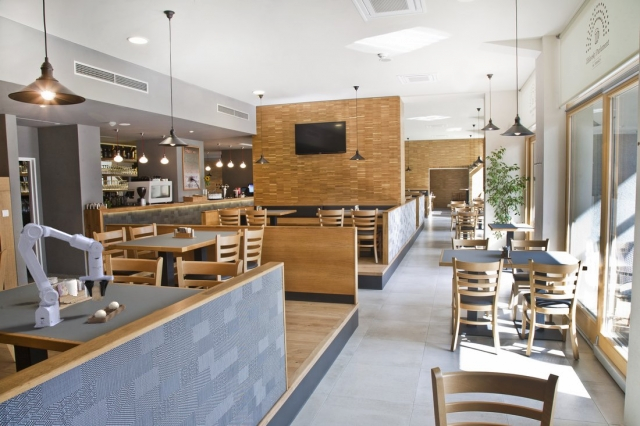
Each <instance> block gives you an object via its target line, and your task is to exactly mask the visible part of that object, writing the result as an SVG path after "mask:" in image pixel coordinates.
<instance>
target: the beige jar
mask: <svg viewBox="0 0 640 426" xmlns="http://www.w3.org/2000/svg"><path fill="white" fill-rule="evenodd" d="M91 298H92V299H91V300H92V301H93V302H100V301H103V299H104V296H103V297H101V288H100V284H94V286H93V287H92V297H91Z"/></svg>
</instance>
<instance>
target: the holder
mask: <svg viewBox="0 0 640 426" xmlns="http://www.w3.org/2000/svg"><path fill="white" fill-rule="evenodd" d="M126 307H127V306H126V304H124V303H123V304H122V303H121V304H119V308H116V309H109V304H108V305H107V306H105V307H103V308H102V309H101V310H104V311H105V312H106V317H97V318H95V313H93V314H92V315H91V316H89V317H87V323H88V324H94V323H95V324H96V323H97V324H98V323H107V322H108V321H110V320H112V319H113V318H115V317H116V316H117V315H118V314H120V313H122V312H123V311H124V310H126Z"/></svg>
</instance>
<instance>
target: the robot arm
mask: <svg viewBox="0 0 640 426" xmlns="http://www.w3.org/2000/svg"><path fill="white" fill-rule="evenodd" d="M41 237H43V238H46V237H51V238H56V239H59V240H61V241H65V242H68V243H69V246H70V247H73V248H76V249H79V250H82V251H85V252H86V251H87V252H88V257H87V258H88V260H87V261H88V275H86V276H85V275H84V276H80V277H78V279H79V280H78V281H79V282H84V283H83V286H85V288H86V290H87V292H88V294H89V297H90V298H92V287H93V286H95V282H98V281H99V284H98V285H100V288H101V297H103V298H104V297H105V295H106V290H107V287H108V285H109V283H110V281H114V280H115V279H114V275H108V274H107V275H105V274H104V264H103V251H104V246H103V244H102V243H101V242H99V241H97V240H95V239H94V238H92V237H91V238H89V237H86V236H84V235H83V234H81V233H79V234H78V233H75V234H73V235H71V234H69V233H66V232H64V231H61V230H58V229H56V228H53V227H51V226H47V225H42V224H37V223H34V222H32V223H31V222H29V223H27V224H25V226H24V227H23V228H22V229H21V231H20V234H19V238H18V244H17V250H18V252H19V253H20V256H21V257H22V259H23V262H24V264H25V265H26V267H27V269H28V271H29V273H30V275H31V277H32V278H33V280H34V282H35V285H36V287H37V289H38V297H39V298H40V302H39V307H38V308H37V309H36V310H35V313H34V315H35V316H34V317H35V319H34V320H35V325H34V326H33V328H46V327H53V326H55V325H57V324H59V323H60V322H63V321H64V320H65V319H64V318H61V316H60V315H61V314H60V301H59V297H60V296H59V292H58V291H57V290H56V289H55V287H52V286H51V284H50V283H49V281H48V279H47V278H48V277H47V275H46V273H45V271H44V269H43V267H42V265H41V264H40V262H39V259H38V257H37V255H36V254H35V251H34V249H33V247H34V245H35V244H36V242H37V241H38V240H39V239H41Z"/></svg>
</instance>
